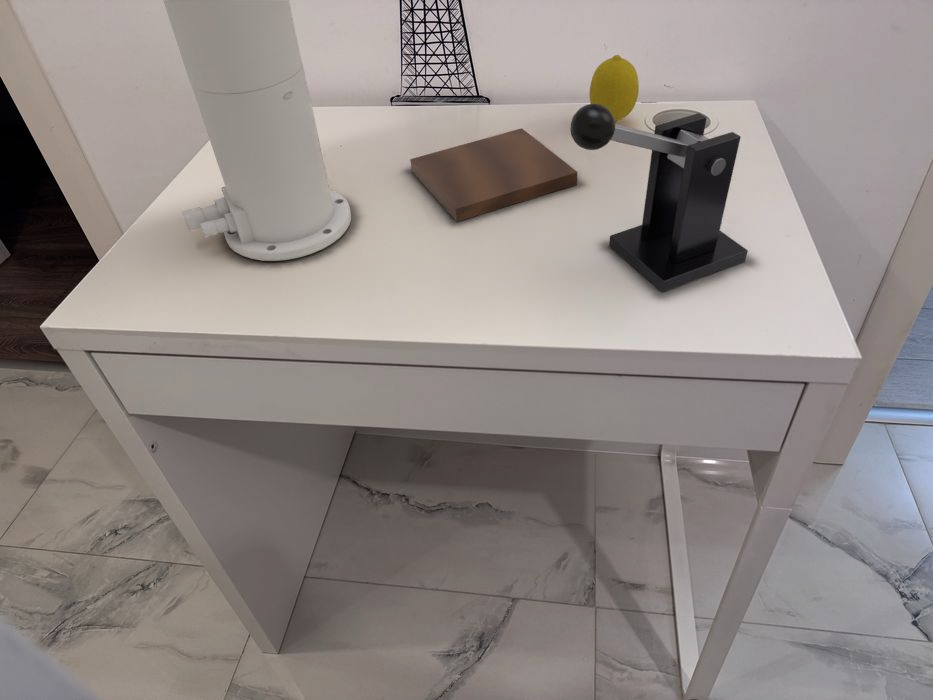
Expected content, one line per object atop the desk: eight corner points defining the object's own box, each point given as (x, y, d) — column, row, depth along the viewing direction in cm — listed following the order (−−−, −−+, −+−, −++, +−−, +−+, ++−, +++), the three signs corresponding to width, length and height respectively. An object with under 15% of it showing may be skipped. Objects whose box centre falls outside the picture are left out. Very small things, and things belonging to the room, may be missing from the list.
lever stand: (662, 292, 59) (683, 166, 51) (608, 246, 64) (620, 125, 56) (745, 261, 61) (778, 136, 53) (687, 219, 67) (709, 99, 59)
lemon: (638, 133, 80) (646, 63, 75) (590, 135, 80) (594, 66, 75) (630, 112, 84) (638, 45, 79) (585, 115, 85) (589, 47, 79)
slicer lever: (578, 153, 49) (597, 109, 47) (555, 135, 51) (573, 93, 49) (708, 181, 56) (728, 143, 55) (682, 164, 58) (701, 128, 57)
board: (456, 222, 69) (455, 209, 68) (411, 171, 77) (409, 158, 76) (577, 184, 73) (577, 171, 71) (522, 140, 81) (521, 128, 80)
